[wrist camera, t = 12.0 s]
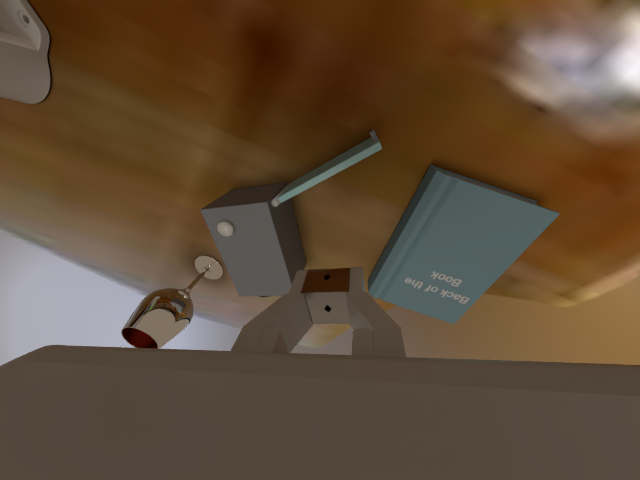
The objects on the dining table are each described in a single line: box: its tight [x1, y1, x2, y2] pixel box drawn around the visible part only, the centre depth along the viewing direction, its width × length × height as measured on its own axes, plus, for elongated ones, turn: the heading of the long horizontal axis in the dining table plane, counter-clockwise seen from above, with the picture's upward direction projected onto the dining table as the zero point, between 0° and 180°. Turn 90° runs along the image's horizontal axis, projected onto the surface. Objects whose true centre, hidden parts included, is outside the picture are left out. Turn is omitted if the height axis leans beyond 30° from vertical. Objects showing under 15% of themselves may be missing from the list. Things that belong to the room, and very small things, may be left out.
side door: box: [271, 128, 382, 207], centre depth 30 cm, size 15×2×8 cm, turn 120°
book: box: [368, 165, 560, 324], centre depth 36 cm, size 23×16×5 cm
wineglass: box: [122, 255, 223, 349], centre depth 41 cm, size 8×8×18 cm
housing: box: [201, 182, 306, 297], centre depth 38 cm, size 18×10×10 cm, turn 10°
